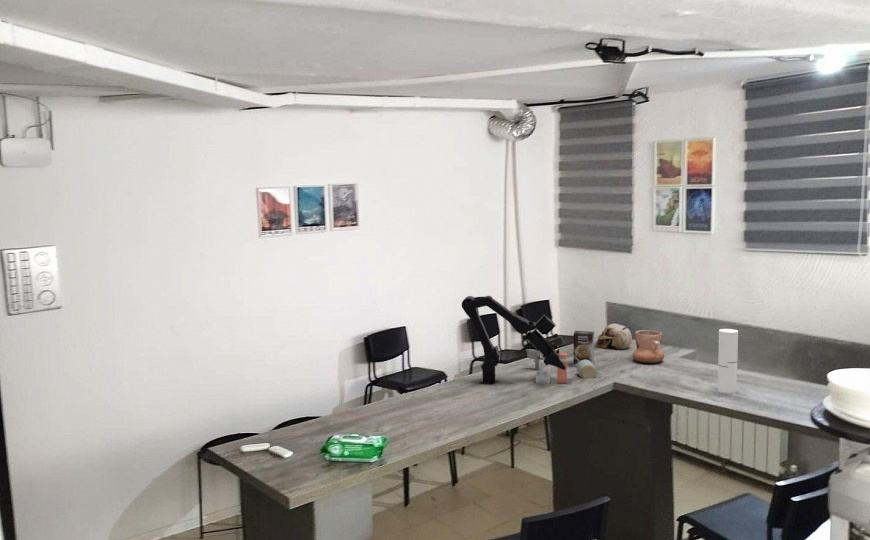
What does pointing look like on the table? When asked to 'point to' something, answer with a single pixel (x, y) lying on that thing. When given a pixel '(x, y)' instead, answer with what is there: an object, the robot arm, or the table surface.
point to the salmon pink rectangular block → (560, 372)
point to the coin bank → (615, 337)
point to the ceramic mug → (587, 369)
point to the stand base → (554, 381)
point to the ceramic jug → (648, 347)
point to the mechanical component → (535, 357)
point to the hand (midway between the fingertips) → (565, 367)
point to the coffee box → (583, 347)
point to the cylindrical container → (727, 360)
